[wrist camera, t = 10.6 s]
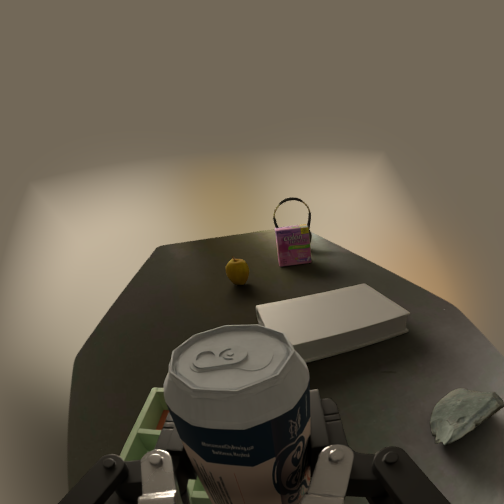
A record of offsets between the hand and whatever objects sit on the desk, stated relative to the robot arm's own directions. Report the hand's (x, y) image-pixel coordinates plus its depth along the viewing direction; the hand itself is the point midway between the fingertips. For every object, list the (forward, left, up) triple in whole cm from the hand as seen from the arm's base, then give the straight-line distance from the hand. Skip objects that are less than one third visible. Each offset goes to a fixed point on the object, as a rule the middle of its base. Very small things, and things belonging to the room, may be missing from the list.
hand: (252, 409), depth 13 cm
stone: (+22, +9, -18) cm, 30 cm away
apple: (-8, +68, -18) cm, 71 cm away
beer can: (0, -3, -7) cm, 8 cm away
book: (+11, +38, -18) cm, 43 cm away
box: (+9, +83, -18) cm, 86 cm away
